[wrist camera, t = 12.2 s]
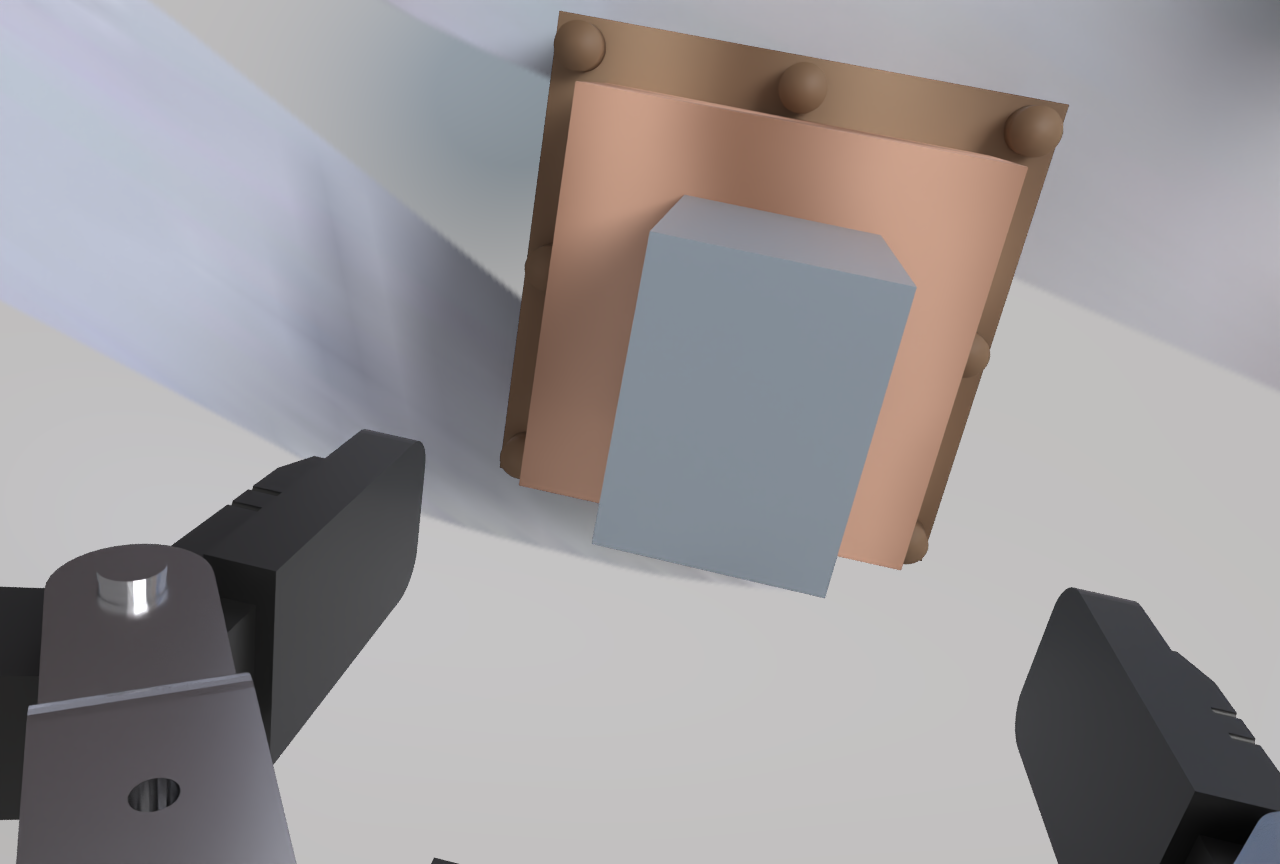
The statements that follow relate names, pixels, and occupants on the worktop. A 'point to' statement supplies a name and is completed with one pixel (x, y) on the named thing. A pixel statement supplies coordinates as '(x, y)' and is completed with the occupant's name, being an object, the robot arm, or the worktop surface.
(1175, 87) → the worktop surface
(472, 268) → the worktop surface
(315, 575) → the robot arm
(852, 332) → the grey brick
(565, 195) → the brown studded stepped block
